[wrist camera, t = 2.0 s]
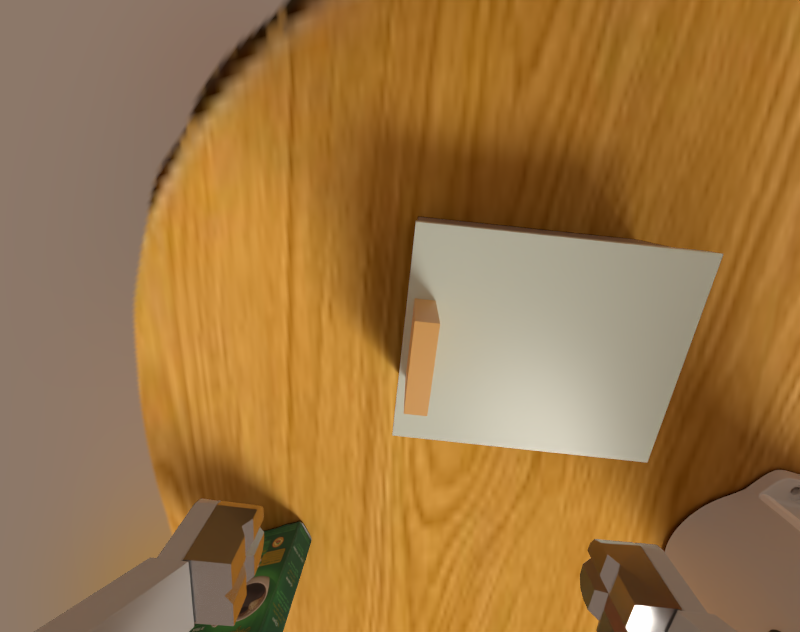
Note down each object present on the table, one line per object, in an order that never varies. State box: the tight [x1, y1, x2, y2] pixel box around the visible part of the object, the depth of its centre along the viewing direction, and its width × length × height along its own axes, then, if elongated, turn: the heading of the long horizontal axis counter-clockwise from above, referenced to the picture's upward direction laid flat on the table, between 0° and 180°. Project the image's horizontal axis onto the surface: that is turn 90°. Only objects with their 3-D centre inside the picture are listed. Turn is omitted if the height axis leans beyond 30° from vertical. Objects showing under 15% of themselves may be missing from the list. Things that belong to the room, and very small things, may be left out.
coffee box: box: [189, 522, 311, 632], centre depth 32 cm, size 8×3×13 cm, turn 111°
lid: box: [393, 220, 723, 462], centre depth 21 cm, size 16×13×6 cm
